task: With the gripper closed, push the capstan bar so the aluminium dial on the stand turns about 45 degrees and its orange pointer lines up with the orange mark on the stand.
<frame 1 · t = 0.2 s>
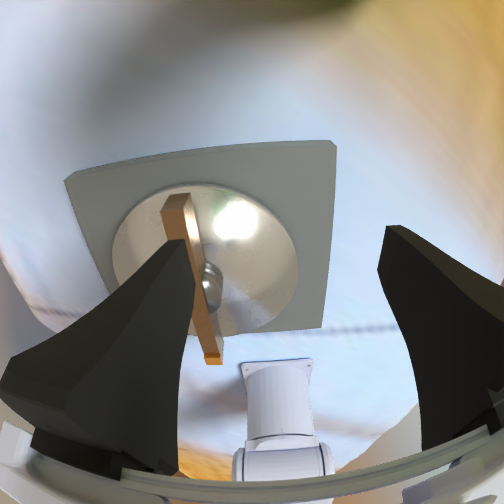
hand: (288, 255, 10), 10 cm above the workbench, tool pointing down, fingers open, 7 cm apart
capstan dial: (200, 286, 19), point 4 cm above the workbench, hinge at 0.0°
stand plate: (206, 252, 22), on the workbench
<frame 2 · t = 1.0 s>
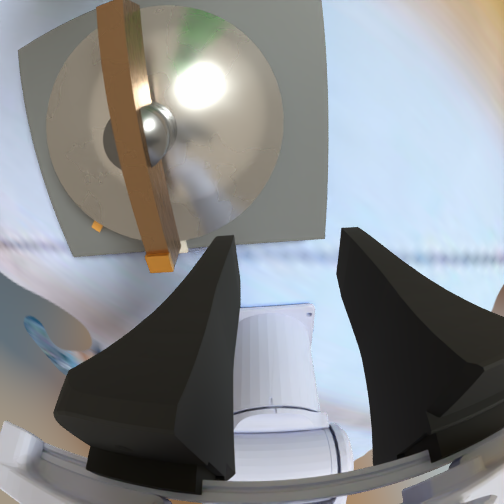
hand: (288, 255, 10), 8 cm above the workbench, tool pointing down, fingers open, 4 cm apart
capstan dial: (142, 134, 12), point 4 cm above the workbench, hinge at 0.0°
stand plate: (164, 120, 15), on the workbench
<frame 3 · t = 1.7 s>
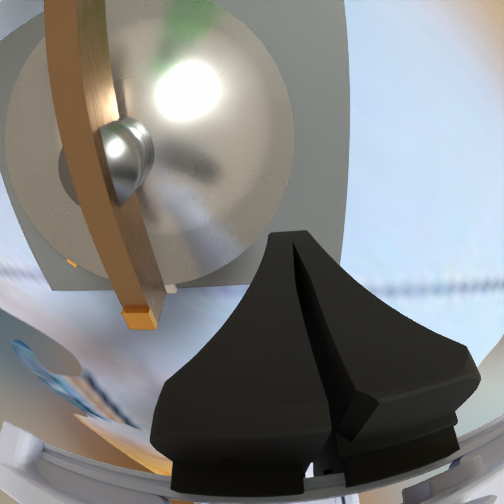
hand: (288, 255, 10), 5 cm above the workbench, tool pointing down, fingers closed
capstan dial: (109, 159, 9), point 4 cm above the workbench, hinge at 0.0°
stand plate: (143, 135, 12), on the workbench
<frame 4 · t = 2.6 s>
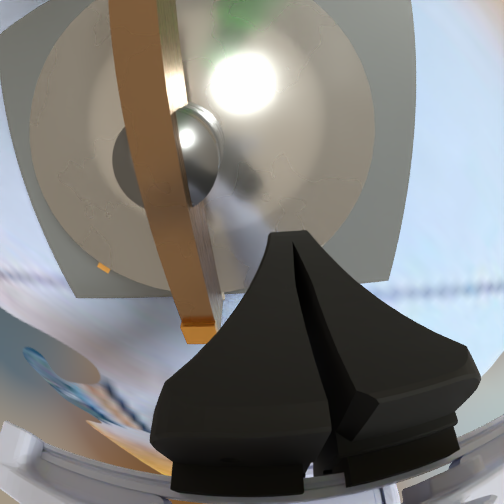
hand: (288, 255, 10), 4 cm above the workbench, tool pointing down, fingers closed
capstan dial: (173, 151, 8), point 4 cm above the workbench, hinge at 0.0°
stand plate: (195, 127, 11), on the workbench
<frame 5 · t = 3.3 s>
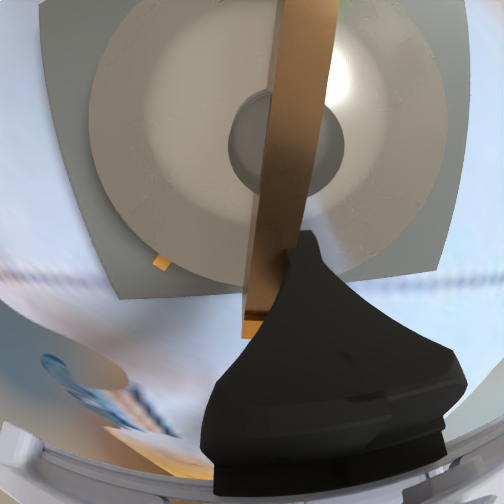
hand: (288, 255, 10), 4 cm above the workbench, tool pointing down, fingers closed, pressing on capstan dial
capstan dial: (282, 137, 8), point 4 cm above the workbench, hinge at -11.5°, touching gripper
stand plate: (271, 118, 11), on the workbench
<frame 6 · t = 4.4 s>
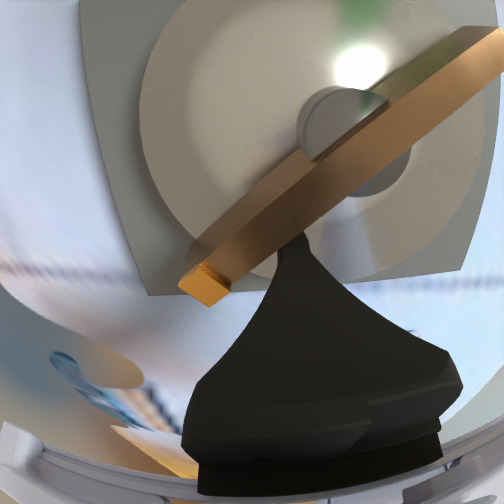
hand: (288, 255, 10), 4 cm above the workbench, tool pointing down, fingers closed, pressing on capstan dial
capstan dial: (349, 135, 8), point 4 cm above the workbench, hinge at -50.5°, touching gripper
stand plate: (320, 115, 11), on the workbench
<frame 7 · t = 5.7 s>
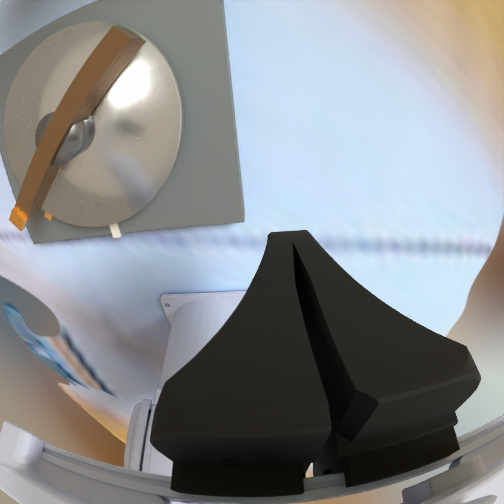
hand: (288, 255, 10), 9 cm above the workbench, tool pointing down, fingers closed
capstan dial: (66, 133, 12), point 4 cm above the workbench, hinge at -50.7°
stand plate: (97, 119, 15), on the workbench
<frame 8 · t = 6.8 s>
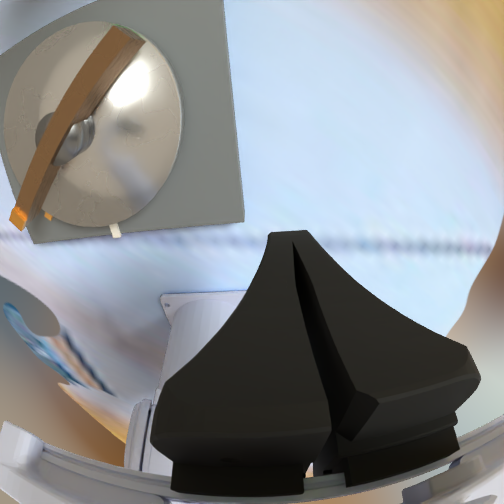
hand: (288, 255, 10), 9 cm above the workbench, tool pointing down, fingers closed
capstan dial: (66, 133, 12), point 4 cm above the workbench, hinge at -50.7°
stand plate: (97, 119, 15), on the workbench
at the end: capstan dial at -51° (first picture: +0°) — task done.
